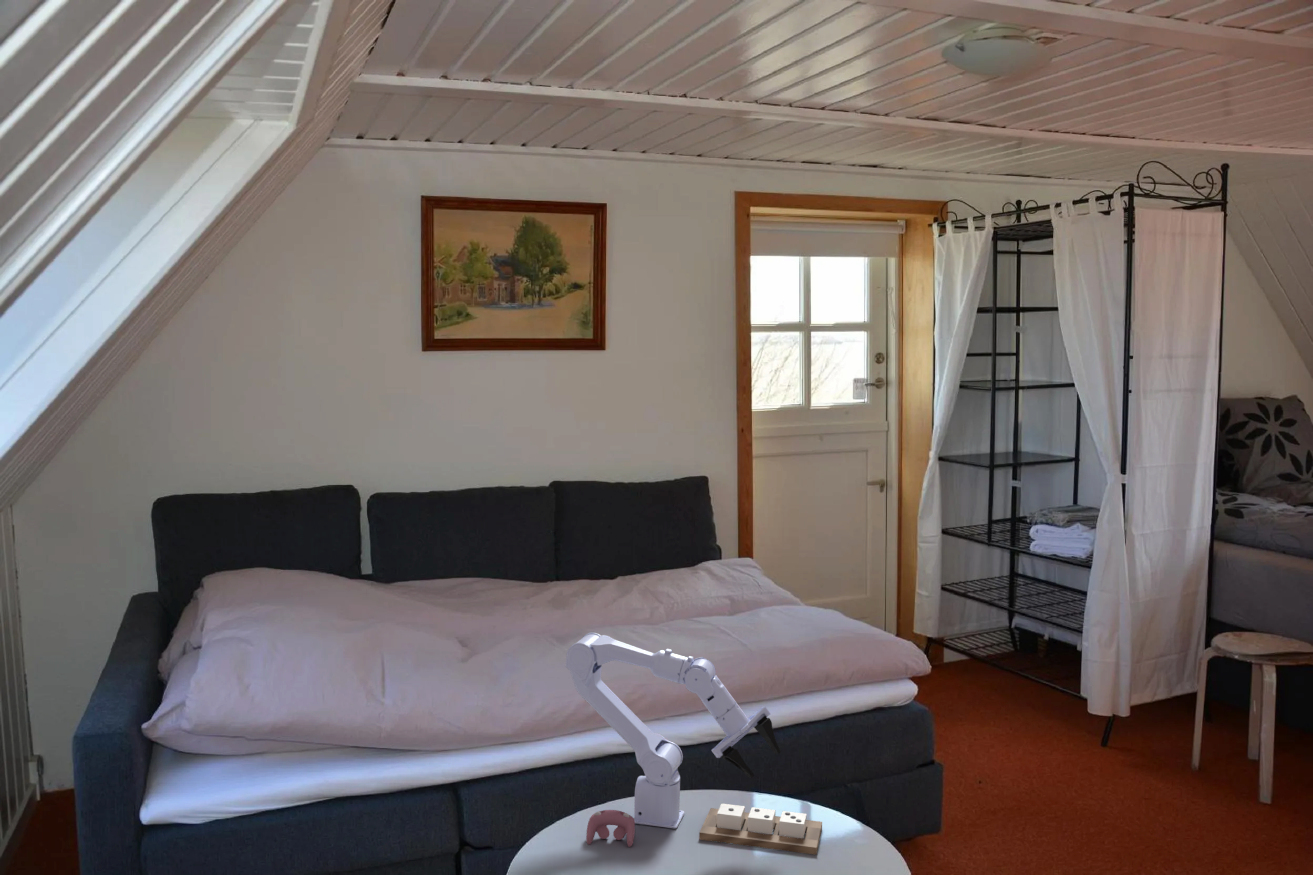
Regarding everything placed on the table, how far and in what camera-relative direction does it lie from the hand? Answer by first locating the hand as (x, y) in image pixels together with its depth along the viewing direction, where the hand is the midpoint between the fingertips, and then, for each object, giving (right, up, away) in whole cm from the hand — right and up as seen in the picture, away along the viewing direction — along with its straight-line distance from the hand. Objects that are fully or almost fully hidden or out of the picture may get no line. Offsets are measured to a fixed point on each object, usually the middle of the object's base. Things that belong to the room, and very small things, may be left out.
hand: (765, 764), depth 220 cm
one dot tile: (-7, -13, +2) cm, 15 cm away
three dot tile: (+6, -14, -1) cm, 15 cm away
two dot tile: (-1, -13, +1) cm, 13 cm away
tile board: (-1, -15, +1) cm, 15 cm away
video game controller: (-32, -15, -3) cm, 35 cm away
